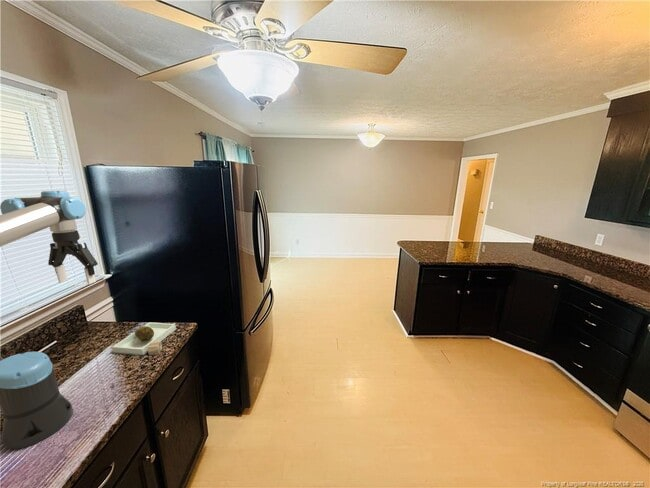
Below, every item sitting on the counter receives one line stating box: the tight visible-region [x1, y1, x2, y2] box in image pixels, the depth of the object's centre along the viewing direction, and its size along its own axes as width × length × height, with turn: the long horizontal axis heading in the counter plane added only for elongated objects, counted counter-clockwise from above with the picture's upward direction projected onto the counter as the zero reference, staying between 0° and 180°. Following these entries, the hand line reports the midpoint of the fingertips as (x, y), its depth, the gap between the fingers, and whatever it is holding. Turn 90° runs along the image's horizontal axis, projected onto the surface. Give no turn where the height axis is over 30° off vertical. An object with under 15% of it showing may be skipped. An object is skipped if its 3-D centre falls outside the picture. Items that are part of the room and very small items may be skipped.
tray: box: [111, 322, 177, 356], centre depth 126 cm, size 21×15×3 cm
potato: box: [134, 325, 154, 342], centre depth 125 cm, size 8×13×8 cm, turn 24°
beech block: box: [147, 341, 163, 356], centre depth 117 cm, size 4×4×4 cm
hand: (77, 282), depth 107 cm, fingers open, 13 cm apart
